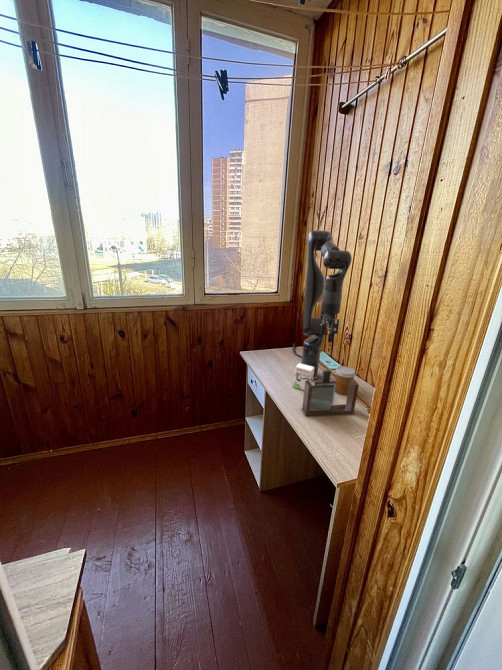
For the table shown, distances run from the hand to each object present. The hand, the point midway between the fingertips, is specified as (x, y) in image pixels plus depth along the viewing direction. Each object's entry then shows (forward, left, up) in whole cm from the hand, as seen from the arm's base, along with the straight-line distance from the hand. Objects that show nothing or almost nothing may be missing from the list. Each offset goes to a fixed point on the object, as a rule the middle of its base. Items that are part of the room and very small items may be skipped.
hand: (326, 338), depth 125 cm
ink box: (-14, -3, -32) cm, 35 cm away
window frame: (+7, +2, -32) cm, 33 cm away
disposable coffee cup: (-9, +16, -32) cm, 37 cm away
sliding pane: (+6, 0, -30) cm, 31 cm away
